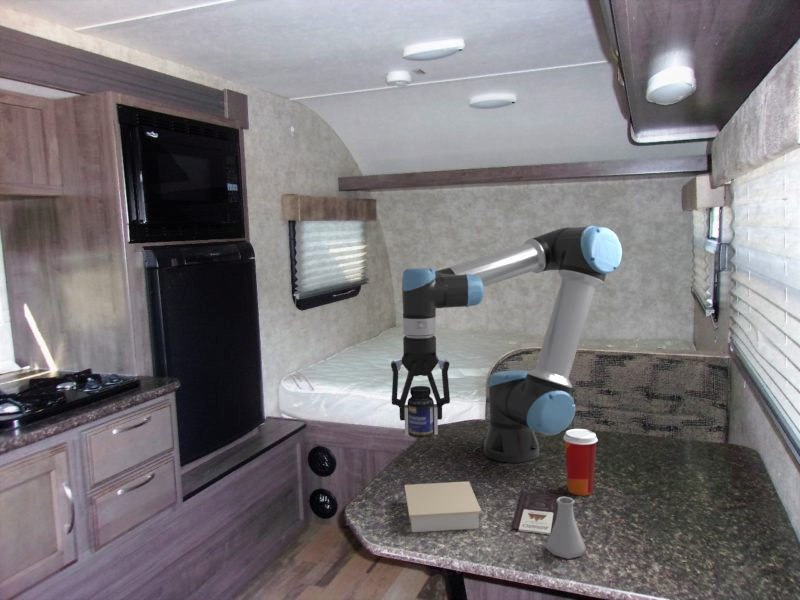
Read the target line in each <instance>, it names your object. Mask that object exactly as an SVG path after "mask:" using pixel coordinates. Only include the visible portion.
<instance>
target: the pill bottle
mask: <svg viewBox="0 0 800 600" xmlns="http://www.w3.org/2000/svg"><path fill="white" fill-rule="evenodd" d="M431 391H432V389H431V386H426V385H416V386H411V387H410V390H409V393H410V397H409V398H407V399H408V400H407V401H406V402H407V405H408V436H410V437H412V438H415V439H416V438H417V439H425V438H430V437H432V436H433V435H435V434H434V404H435V402H434V399H433V398H432V396H430V395H431Z"/></svg>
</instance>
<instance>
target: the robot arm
mask: <svg viewBox="0 0 800 600" xmlns="http://www.w3.org/2000/svg"><path fill="white" fill-rule="evenodd" d="M622 255H623V249H622V245H621V242H620V241H619V237H618V236H617V235H616V233H615V232H614V231H612V230H611V229H609V228H608V227H605V226H604V227H603V226H597V225H596V226H595V225H590V226H581V227H577V226H576V227H562V228H558V229H555V230H552V231H549V232H547V233H544V234H543V233H542V234H540V235H538V236H535V237H532V238H528V239H526V241H525V242H524V243H523V244H521V245H518V246H515V247H512V248H509V249H505V250H502V251H498V252H495V253H491V254H488V255H485V256H482V257H478V258H475V259H472V260H468V261H465V262H462V263H459V264H456V265H451V266H449V267H445V268H441V269H439V270H435V269H434V268H432V267H411V268H406V269H404V270H403V272H402V277H401V278H402V279H401V293H402V294H401V295H402V298H401V299H402V334H403V335H404V337H403V340H402V343H403V345H402V347H403V355H402V357H401V359H399V360H396V361H395V360H391V362H390V367H391V370H392V385H391V387H392V388H391V389H392V390H391V404H392V405H393V406H397V407H398V408H399V420H400V421H404V436H409V434H408V404H406V402H407V401H408V400H407V399H408V396H409V393H410V388H411V387H412V382H413V381H414V377H419V376H422V377H427V379H428V382H429V387H430V389H431V391H432V393H433V397H434V400H435V402H436V403H434V434H433V435H434V436H435V435H439V434H438V433H439V429H438V427H439V425H438V420H442V419H443V407H444V406H445V405H448V404H449V403H451V396H450V395H451V394H450V385H449V374H448V372H449V367H450V362H449V360H448V359H441V358H439V357H438V355H437V338H436V336H435V334H436V333H437V331H436V329H437V328H436V327H437V323H436V322H437V321H436V318H437V316H436V314H437V313H436V312H437V309H444V308H445V309H446V308H463V307H464V308H469V307H472V306H478V305H479V304H481V302H483V298H484V291H485V290H484V289H485V287H487V286H491V285H493V284H495V283H496V284H497V283H499V282H502V281H506V280H509V279H512V278H515V277H519V276H521V275H525V274H528V273H533V274H534V273H535V274H540V273H543V272H547V271H548V272H549V271H558V272H557V273H558V275H559V276H560V278H561V281H560V284H559V288H558V292H557V296H556V298H555V301H554V305H553V307H552V311H551V314H550V318H549V322H548V325H547V328H546V330H545V331H546V332H545V335H544V337H543V342H542V345H541V348H540V351H539V355H538V357H537V361H536V365H535V368H533V369H531V370H525V369H524V370H522V369H519V370H517V369H516V370H504V371H503V370H501V371H498V372H497V371H495V372H493V373H492V374H491V375H490V376H489V379H488V380H489V381H488V389H489V391H488V392H489V395H488V396H489V427H488V430H487V433H486V437H485V440H484V443H483V454H484V456H486V457H488V458H489V459H491V460H494V461H496V462H497V461H498V462H503V463H510V464H511V463H512V464H513V463H526V462H531V461H533V460H535V459H537V458H538V457H539V456H540V445H539V441H538V439H537V436H536V433H538V434H542V435H544V436H554V435H558V434H560V433H561V432H563V431H565V430H566V429H567V428H568V427H569V426H570V425H571V423H572V421H573V419H574V418H575V414H576V404H575V403H574V402H575V401H574V399H573V397H572V396H571V393H572V389H573V385H572V383H571V381H570V379H569V378H570V375H571V371H572V368H573V365H574V361H575V358H576V354H577V351H578V348H579V345H580V341H581V338H582V335H583V331H584V328H585V325H586V321H587V317H588V315H589V312H590V309H591V308H590V307H591V305H592V301H593V299H594V298H593V297H594V294H595V292H596V289H597V288H599V287H601V286H603V285H604V283H605V279H606V276H607V275H609V274H611V273H612V272H614V271H615V270H616V269H617V268H618V267H619V265H620V264H621V261H622ZM402 365H403V366H404V368H405V369H406V371H407V376H406V380H405V382H404V385H403V389H402V392H401V395H400V398H398V391H399V390H398V388H399V371H400V370H401V368H402ZM437 365H438V367H439V369H440V370H441V379H442V380H441V381H442V392H443V393H442V394H443V397H441V395H440V393H439V390H438V387H437V384H436V380H435V379H434V376H433V375H434V374H433V370H434V369H435V367H436V366H437Z"/></svg>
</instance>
